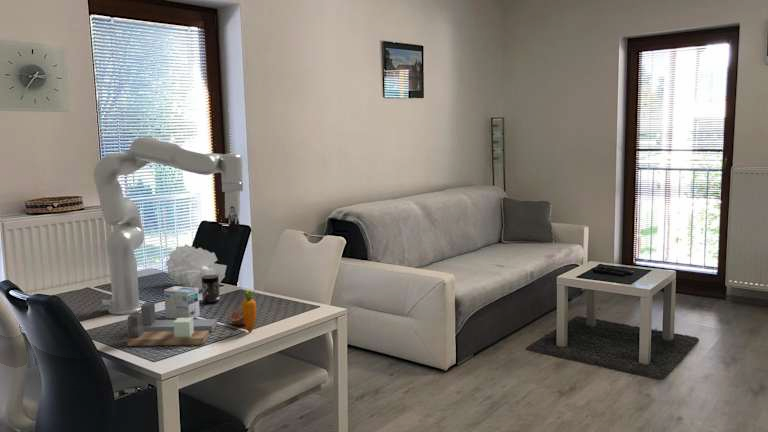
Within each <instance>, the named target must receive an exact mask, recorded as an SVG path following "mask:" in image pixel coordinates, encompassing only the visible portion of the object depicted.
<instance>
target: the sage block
mask: <svg viewBox="0 0 768 432" xmlns="http://www.w3.org/2000/svg"><path fill="white" fill-rule="evenodd" d="M193 319H194V318H177V319H174V320H175V321H174V337H190V336H191V335H192V334H193V333H194V325H193Z"/></svg>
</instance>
